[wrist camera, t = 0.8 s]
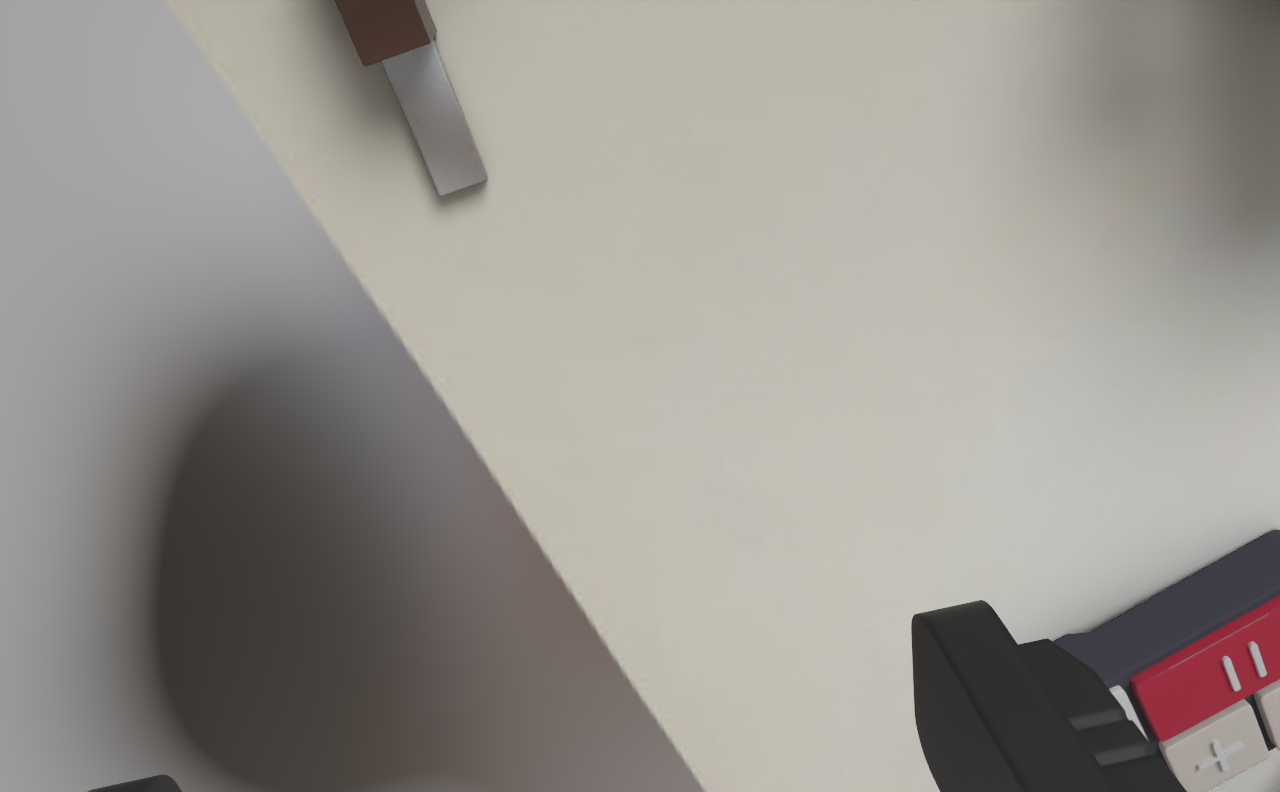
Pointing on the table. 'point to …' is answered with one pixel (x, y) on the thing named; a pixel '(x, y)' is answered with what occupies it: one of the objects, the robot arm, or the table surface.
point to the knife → (417, 85)
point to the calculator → (1200, 666)
